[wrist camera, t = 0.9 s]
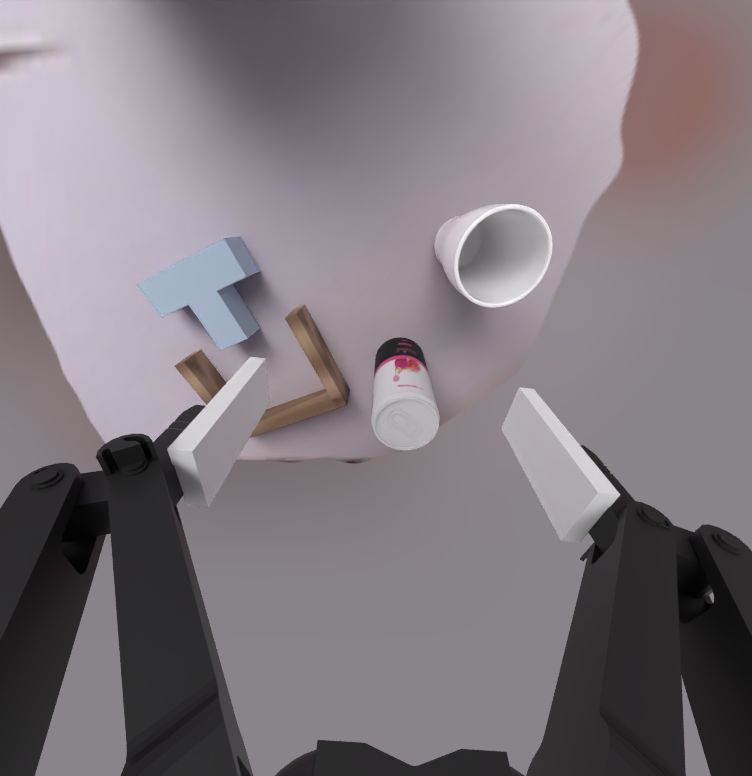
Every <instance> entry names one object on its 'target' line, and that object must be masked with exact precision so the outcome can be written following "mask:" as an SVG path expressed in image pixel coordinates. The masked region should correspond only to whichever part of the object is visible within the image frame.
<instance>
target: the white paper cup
mask: <svg viewBox="0 0 752 776" xmlns="http://www.w3.org/2000/svg"><path fill="white" fill-rule="evenodd" d="M552 249H553V243H552V235H551V231H550V228H549V226H548V224H547V222H546V221H545V219H544V218H543V217H542V216H541V215H540V214H539V213H538V212H537V211H535V210H533V209H532V208H529V207H527V206H524V205H518V204H493V205H488V206H483V207H480V208H477V209H475V210H472V211H470V212H468V213H466V214H464V215H461V216H457V217H453V218H451V219H449V220H448V221H446V222H445V223H444V224H443V225H442V226H441V228H440V229H439V231H438V233H437V235H436V238H435V242H434V250H435V254H436V257H437V259H438V261H439V262H440V263H441V265H442V267H443V269H444V271H445V273H446V275H447V277H448V279H449V281H450V282H451V283H452V285H453V286H454V287H455V288H456V289H457V290H458V291H459V292H460V293H461V294H462V295H463V296H465V297H466V298H467V299H469V300H470V301H471V302H473V303H475V304H477V305H480V306H483V307H489V308H498V307H504V306H508V305H511V304H513V303H515V302H517V301H519V300H521V299H522V298H524V297H525V296H527V295H528V294H529V293H530V292H531V291H533V290H534V288H535V287H536V286H537V285H538V284H539V283H540V281H541V280H542V278H543V277H544V275H545V273H546V271H547V269H548V266H549V264H550V260H551V256H552Z"/></svg>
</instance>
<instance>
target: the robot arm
mask: <svg viewBox="0 0 752 776" xmlns="http://www.w3.org/2000/svg"><path fill="white" fill-rule="evenodd" d="M269 404H270V401H269V390H268V379H267V368H266V358H257V357H250V358H249V359H248V360H247V361H246V362H245V363H244V364H243V365H242V367H241V368H240V369H239V370H238V371H237V372H236V373H235V374H234V375H233V377H232V378H231V379H230V380H229V381H228V382H227V383H226V384H225V385H224V387H223V388H222V389H221V390H220V391H219V392H218V393H217V394H216V395H215V396H214V398H213V399H212V400H211V401H210V402H209V403H208V404H207V405H206V406H202V405H195V406H193V407H191V408H189V409H188V410H186V411H184V412H183V413H182V414H181V415H180V416H179V417H178V418H177V419H176V420H175V422H173V423H172V424H171V425H170V426H169V428H168V429H166V430H165V431H164V432H163V433H162V434H161V435H160V436H159V437H158V438H157V439H156V440H155V441H154V442H152V440H151V439H150V437H149V436H146V435H144V434H130V435H124V436H121V437H118V438H116V439H113V440H111V441H110V442H108V443H106V444H104V445H103V446H102V447H101V448H100V449H99V450H98V452H97V455H96V458H97V459H98V462H99V463H100V465H101V467H102V469H103V471H96V472H89V473H82V474H81V473H80V472H79V470H78V468H77V467H76V466H75V465H74V464H69V463H58V464H53V465H49V466H45V467H42V468H40V469H38V470H36V471H33V472H31V473H30V474H28V475H27V476H25V477H24V478H22V479H21V480H20V481H19V482H18V483H17V484H16V485H15V487H14V488H13V490H12V491H11V493H10V494H9V496H8V498H7V499H6V501H5V502H4V504H3V505H2V507H1V508H0V776H35V772H36V769H37V766H38V762H39V759H40V756H41V752H42V749H43V746H44V742H45V739H46V735H47V732H48V729H49V725H50V722H51V718H52V715H53V712H54V708H55V705H56V702H57V698H58V695H59V692H60V688H61V685H62V681H63V678H64V675H65V671H66V668H67V664H68V661H69V658H70V654H71V651H72V648H73V644H74V641H75V637H76V634H77V630H78V627H79V624H80V620H81V617H82V614H83V610H84V607H85V604H86V600H87V597H88V594H89V590H90V587H91V583H92V580H93V576H94V573H95V570H96V567H97V563H98V560H99V556H100V553H101V550H102V546H103V543H104V540H105V536H106V534H111V543H112V557H113V570H114V583H115V596H116V610H117V621H118V622H117V623H118V636H119V647H120V648H119V649H120V662H121V675H122V688H123V702H124V714H125V728H126V741H127V758H126V764H125V766H124V769H123V771H122V774H121V776H253V773H252V770H251V766H250V763H249V759H248V756H247V752H246V749H245V746H244V743H243V739H242V736H241V733H240V731H239V727H238V724H237V721H236V718H235V714H234V710H233V707H232V703H231V699H230V696H229V693H228V689H227V685H226V681H225V678H224V674H223V671H222V667H221V663H220V660H219V656H218V653H217V649H216V645H215V642H214V638H213V635H212V631H211V627H210V624H209V620H208V616H207V613H206V609H205V606H204V602H203V598H202V595H201V591H200V588H199V584H198V581H197V577H196V573H195V570H194V566H193V562H192V559H191V555H190V551H189V548H188V544H187V541H186V537H185V533H184V530H183V526H182V523H181V519H180V516H179V512H178V509H177V506H176V505H177V503H178V502H179V500H180V499H181V497H182V496H184V499H185V502H186V505H187V506H197V507H206V508H208V507H209V506H210V504H211V502H212V501H213V499H214V497H215V496H216V494H217V492H218V490H219V489H220V487H221V485H222V484H223V482H224V480H225V478H226V477H227V475H228V473H229V472H230V470H231V468H232V467H233V465H234V463H235V461H236V460H237V458H238V456H239V455H240V453H241V451H242V450H243V448H244V446H245V444H246V443H247V441H248V439H249V438H250V436H251V434H252V433H253V431H254V429H255V427H256V426H257V424H258V422H259V421H260V419H261V417H262V415H263V414H264V412H265V410H266V409H267V407H268V405H269ZM502 430H503V432H504V434H505V436H506V438H507V440H508V442H509V444H510V445H511V447H512V449H513V451H514V453H515V455H516V457H517V459H518V461H519V462H520V464H521V466H522V468H523V470H524V472H525V474H526V476H527V478H528V479H529V481H530V483H531V485H532V487H533V489H534V491H535V492H536V494H537V496H538V498H539V500H540V502H541V504H542V506H543V507H544V510H545V511H546V513H547V515H548V517H549V519H550V521H551V523H552V525H553V527H554V528H555V530H556V532H557V534H558V536H559V538H560V540H562V541H571V542H581V541H582V540H583V539H584V538H585V536H586V535H587V534H588V533H589V534H590V535H591V537H592V538H593V540H594V543H593V544H592V545H591V546H590V548H589V549H588V550H587V551H586V552H585V553H584V554H583V556H582V557H581V558H580V560H582V561H584V560H585V559H586V558H587V562H586V565H585V570H584V574H583V578H582V582H581V586H580V590H579V595H578V599H577V603H576V607H575V611H574V615H573V619H572V623H571V627H570V631H569V635H568V640H567V644H566V648H565V652H564V656H563V660H562V664H561V668H560V673H559V677H558V681H557V685H556V689H555V693H554V697H553V701H552V706H551V710H550V714H549V718H548V722H547V726H546V730H545V734H544V738H543V741H542V743H541V746H540V748H539V749H538V751H537V753H536V754H535V756H534V758H533V759H532V762H531V764H530V766H529V769H528V772H527V775H526V776H686V775H685V752H684V728H683V706H682V705H683V704H682V681H681V675H682V678H683V682H684V685H685V689H686V692H687V695H688V699H689V702H690V706H691V709H692V712H693V716H694V719H695V723H696V726H697V730H698V733H699V736H700V740H701V743H702V747H703V750H704V754H705V757H706V760H707V764H708V767H709V770H710V774H711V776H752V551H751V550H750V549H749V547H748V546H746V545H745V544H744V543H743V542H742V541H741V540H740V539H738V538H737V537H736V536H733V535H732V534H731V533H729V532H727V531H725V530H722V529H721V528H718V527H715V526H712V525H702V526H701V527H700V528H698V529H697V530H696V531H695V532H691V531H688V530H685V529H683V528H679V527H677V526H674V525H673V524H672V523H671V522H670V521H669V519H668V518H667V517H665V516H664V515H663V514H662V513H661V512H659V511H658V510H656V509H655V508H653V507H651V506H649V505H647V504H644V503H642V502H636V501H634V499H633V498H632V497H631V495H630V494H629V493H628V492H627V491H626V490H625V488H624V487H623V486H622V485H621V484H620V483H619V481H618V480H617V479H616V478H615V477H614V476H613V475H612V474H610V471H609V470H608V469H607V467H606V466H604V465H603V463H602V462H601V460H599V458H598V457H597V456H596V455H595V454H594V453H593V452H592V451H590V450H589V449H587V448H586V447H585V446H582V445H579V444H578V442H577V441H576V440H575V439H574V438H573V436H572V435H571V434H570V433H569V432H568V430H567V429H566V428H565V427H564V425H563V424H562V423H561V422H560V421H559V419H558V418H557V417H556V416H555V415H554V413H553V412H552V411H551V410H550V409H549V407H548V406H547V405H546V404H545V402H544V401H543V400H542V399H541V398H540V396H539V395H538V394H537V393H536V392H535V390H534V389H528V388H519V389H518V391H517V394H516V396H515V399H514V401H513V403H512V405H511V407H510V410H509V412H508V415H507V417H506V419H505V421H504V424H503V426H502ZM712 592H713V593H714V603H712V601H711V599H710V597H709V594H711V593H712ZM275 776H524V775H523V774H521V773H520V772H518V771H517V770H515V769H514V768H512V767H510V766H509V761H508V757H507V752H497V751H483V750H468V749H460V750H457V751H455V752H452V753H450V754H447V755H445V756H442V757H439V758H437V759H434V760H432V761H429V762H427V763H424V764H421V765H419V766H411V765H409V764H407V763H405V762H403V761H401V760H399V759H397V758H395V757H392V756H390V755H388V754H386V753H384V752H382V751H380V750H378V749H376V748H374V747H372V746H370V745H368V744H366V743H357V742H342V741H325V740H318V742H317V750H314V751H311V752H309V753H307V754H304V755H302V756H300V757H298V758H297V759H295V760H293V761H292V762H290V763H289V764H288V765H287V766H285V767H284V768H283V769H281V770H280V771H279V772H278V773H277V774H276V775H275Z"/></svg>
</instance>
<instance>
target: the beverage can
mask: <svg viewBox="0 0 752 776" xmlns="http://www.w3.org/2000/svg"><path fill="white" fill-rule="evenodd" d="M439 421H440V415H439V411H438V407H437V404H436V400H435V396H434V393H433V389H432V385H431V382H430V378H429V374H428V371H427V367H426V363H425V360H424V356H423V352H422V350H421V348H420V347H419V346H418V345H417V344H416V343H415V342H414V341H412V340H410V339H407V338H393V339H390V340H388V341H386V342H385V343H384V344H382V346H381V347H380V348H379V349H378V351H377V354H376V359H375V374H374V389H373V403H372V418H371V422H372V427H373V429H374V433H375V435H376V437H377V438H378V439H379V440H380V441H381V442H382V443H383V444H384V445H386V446H388V447H390V448H393V449H397V450H413V449H417V448H420V447H422V446H424V445H426V444H427V443H429V442H430V441H431V440H432V439H433V438H434V437H435V435H436V433H437V431H438V428H439Z"/></svg>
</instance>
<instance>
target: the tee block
mask: <svg viewBox="0 0 752 776" xmlns="http://www.w3.org/2000/svg"><path fill="white" fill-rule="evenodd" d="M258 272H260V270H259V268H258V266H257V265H256V263H255V261H254V259H253V258H252V256H251V254H250V252H249V251H248V249H247V247H246V245H245V244H244V242H243V240H242V238H241V237H232V238H223V239H222V240H220V241H218V242H216V243H214V244H212V245H210V246H208V247H206V248H204V249H203V250H201V251H199V252H197V253H195V254H193V255H191V256H189V257H187V258H185V259H184V260H182V261H180V262H178V263H176V264H174V265H172V266H170V267H168V268H166V269H165V270H163V271H161V272H159V273H157V274H155V275H153V276H151V277H149V278H148V279H146V280H144V281H142V282H140V283H138V284H136V285H137V286H138V288H139V289H140V290H141V292H142V293H143V294H144V295H145V297H146V298H147V299H148V301H149V302H150V303H151V305H152V306H153V307H154V308H155V310H156V311H157V312H158V314H159V315H160V316H161V318H162V317H164V316H166V315H169V314H171V313H173V312H176V311H178V310H180V309H183V308H185V307H187V306H190V308H191V309H192V310H193V312H194V313H195V315H196V316H197V317H198V319H199V320H200V322H201V323H202V325H203V326H204V327H205V329H206V330H207V332H208V333H209V334H210V336H211V337H212V339H213V340H214V341H215V343H216V344H217V346H218V347H219V348H220V350H222V349H225V348H227V347H229V346H232V345H234V344H236V343H239V342H241V341H243V340H246V339H248V338H249V337H250V336H251V335H253V334H254V333H255V332H256V331H257V330H259V329H260V327H259V326H258V324H257V322H256V321H255V319H254V317H253V316H252V314H251V313H250V311H249V309H248V308H247V306H246V304H245V303H244V301H243V300H242V298H241V296H240V295H239V293H238V292H237V290H236V288H235V287H234V285H233V284H235V283H237V282H239V281H241V280H243V279H245V278H247V277H249V276H251V275H253V274H255V273H258Z"/></svg>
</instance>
